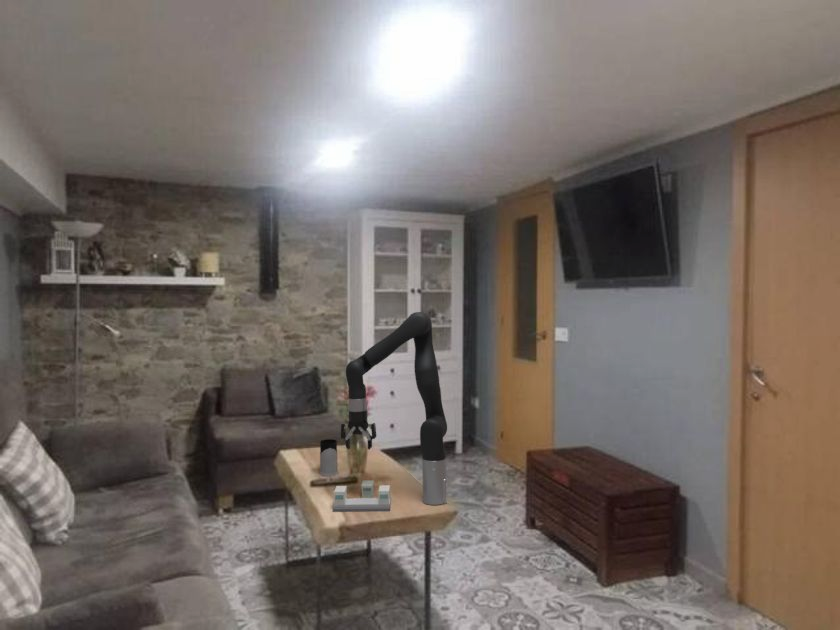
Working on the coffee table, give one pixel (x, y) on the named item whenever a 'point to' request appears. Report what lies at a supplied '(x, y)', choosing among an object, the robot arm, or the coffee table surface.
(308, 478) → the coffee table surface
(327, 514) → the coffee table surface
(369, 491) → the block
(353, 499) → the board
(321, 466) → the glass holder
